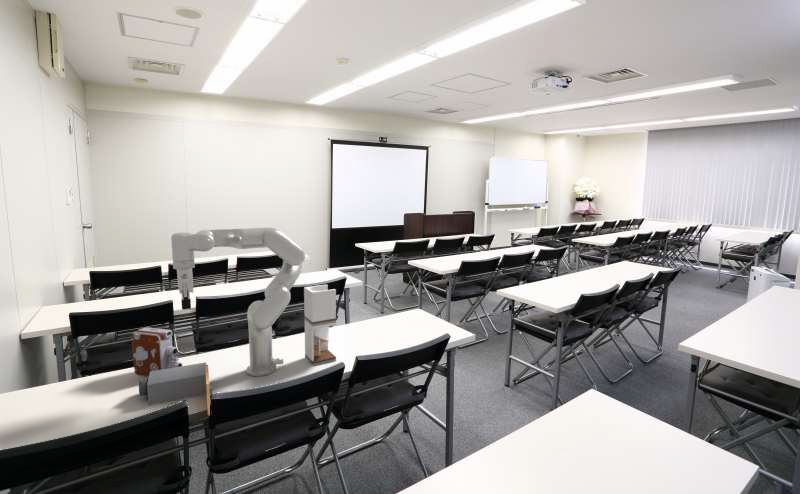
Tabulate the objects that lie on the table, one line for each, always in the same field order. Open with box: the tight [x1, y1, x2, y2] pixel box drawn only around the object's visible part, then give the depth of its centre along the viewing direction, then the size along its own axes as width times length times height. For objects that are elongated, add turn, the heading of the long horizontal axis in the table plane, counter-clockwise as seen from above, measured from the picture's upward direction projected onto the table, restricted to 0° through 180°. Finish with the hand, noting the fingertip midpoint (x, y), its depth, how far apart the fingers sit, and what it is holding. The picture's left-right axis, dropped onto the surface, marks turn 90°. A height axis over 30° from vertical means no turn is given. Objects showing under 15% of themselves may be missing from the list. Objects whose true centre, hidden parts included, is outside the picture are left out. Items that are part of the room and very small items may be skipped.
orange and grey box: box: [138, 361, 207, 406], centre depth 156 cm, size 23×12×8 cm, turn 118°
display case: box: [303, 284, 337, 367], centre depth 188 cm, size 11×11×35 cm
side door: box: [205, 364, 214, 416], centre depth 149 cm, size 17×2×12 cm, turn 27°
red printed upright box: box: [131, 326, 183, 378], centre depth 170 cm, size 9×19×20 cm, turn 78°
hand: (186, 308), depth 160 cm, fingers closed
